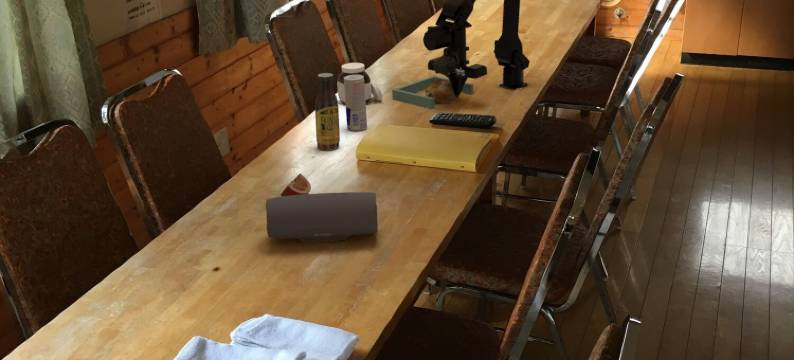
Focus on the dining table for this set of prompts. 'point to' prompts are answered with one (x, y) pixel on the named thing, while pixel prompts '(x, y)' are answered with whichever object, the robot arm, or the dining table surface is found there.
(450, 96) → the bread roll
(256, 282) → the dining table surface
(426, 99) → the teal u-shaped frame
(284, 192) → the fruit slice
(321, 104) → the sauce bottle
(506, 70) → the robot arm
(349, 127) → the beverage can
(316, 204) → the bluetooth speaker
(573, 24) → the dining table surface
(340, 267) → the dining table surface
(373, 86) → the spread jar
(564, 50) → the dining table surface
